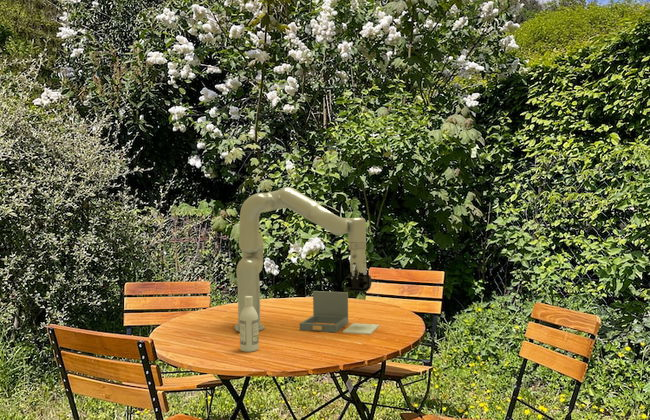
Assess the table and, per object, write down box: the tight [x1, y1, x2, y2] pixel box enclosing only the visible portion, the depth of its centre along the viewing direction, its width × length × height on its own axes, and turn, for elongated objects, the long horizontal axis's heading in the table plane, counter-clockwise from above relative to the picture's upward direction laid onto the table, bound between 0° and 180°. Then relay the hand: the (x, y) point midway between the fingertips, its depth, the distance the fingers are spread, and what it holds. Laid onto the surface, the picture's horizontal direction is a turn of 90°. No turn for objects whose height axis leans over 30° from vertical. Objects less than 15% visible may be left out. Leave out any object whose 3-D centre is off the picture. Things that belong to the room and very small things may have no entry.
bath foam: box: [239, 296, 260, 353], centre depth 204 cm, size 7×7×20 cm
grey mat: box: [342, 322, 380, 336], centre depth 234 cm, size 16×12×1 cm
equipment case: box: [299, 290, 349, 333], centre depth 240 cm, size 19×16×14 cm
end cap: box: [344, 273, 372, 293], centre depth 235 cm, size 10×7×7 cm
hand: (358, 286), depth 235 cm, fingers closed on end cap, 7 cm apart
